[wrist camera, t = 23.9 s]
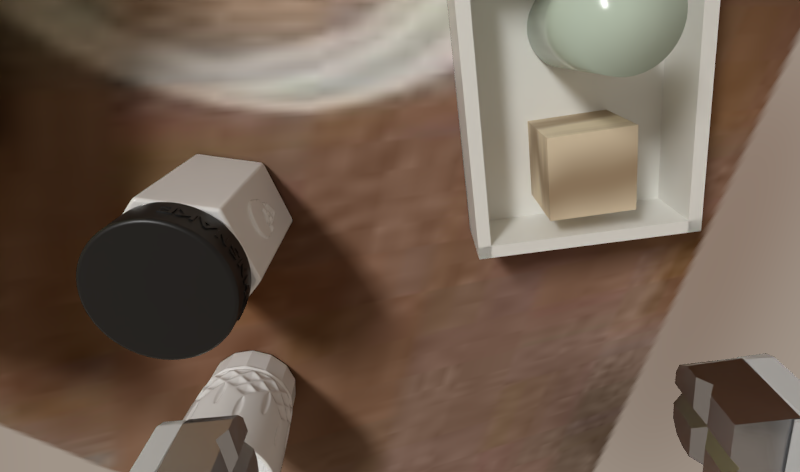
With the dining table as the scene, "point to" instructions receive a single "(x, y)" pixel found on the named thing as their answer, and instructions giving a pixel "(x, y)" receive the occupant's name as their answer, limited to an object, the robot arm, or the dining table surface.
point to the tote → (566, 95)
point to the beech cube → (583, 164)
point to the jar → (183, 257)
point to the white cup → (252, 402)
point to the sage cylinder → (606, 34)
